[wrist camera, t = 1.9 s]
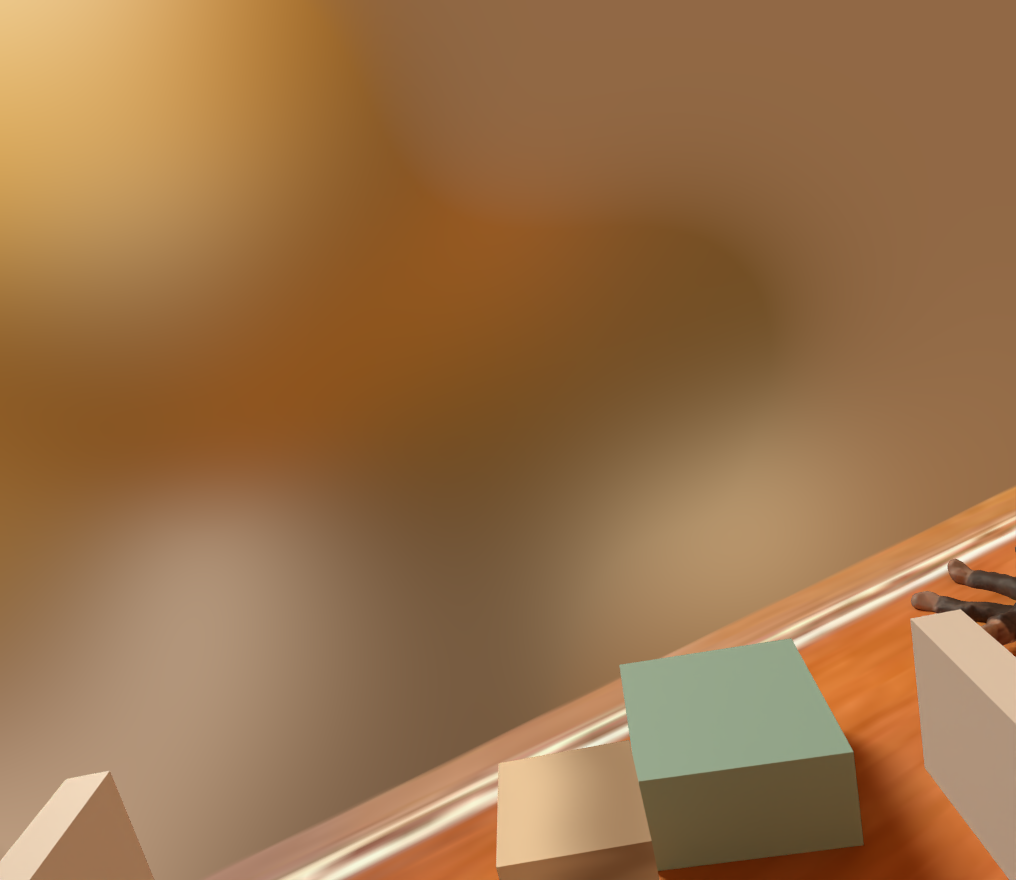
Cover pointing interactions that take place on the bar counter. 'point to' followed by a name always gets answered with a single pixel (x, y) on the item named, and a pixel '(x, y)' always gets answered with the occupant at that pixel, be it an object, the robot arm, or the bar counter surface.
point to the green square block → (738, 757)
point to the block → (573, 817)
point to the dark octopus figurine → (999, 618)
